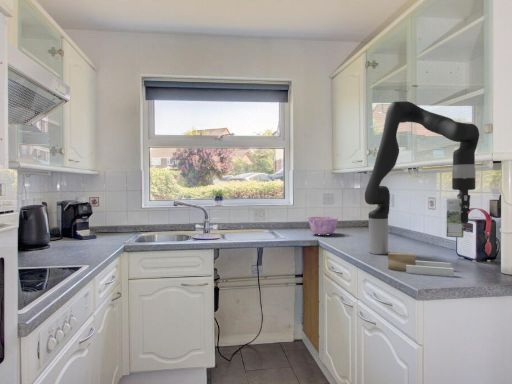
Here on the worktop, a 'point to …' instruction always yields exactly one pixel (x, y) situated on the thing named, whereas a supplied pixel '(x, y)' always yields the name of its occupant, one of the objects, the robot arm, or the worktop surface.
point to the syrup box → (453, 218)
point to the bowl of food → (323, 225)
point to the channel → (430, 268)
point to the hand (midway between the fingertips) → (463, 221)
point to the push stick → (400, 260)
